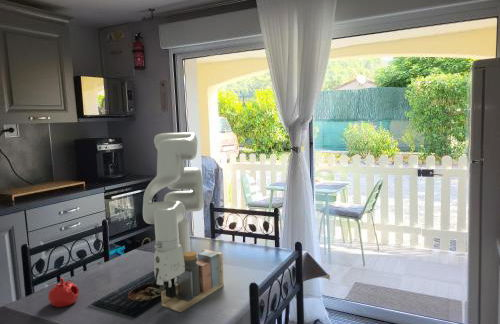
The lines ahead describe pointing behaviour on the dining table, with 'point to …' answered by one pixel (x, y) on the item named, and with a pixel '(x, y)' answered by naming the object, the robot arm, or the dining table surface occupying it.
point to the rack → (208, 278)
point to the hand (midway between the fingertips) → (171, 296)
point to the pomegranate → (63, 294)
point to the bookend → (185, 286)
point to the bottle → (193, 270)
